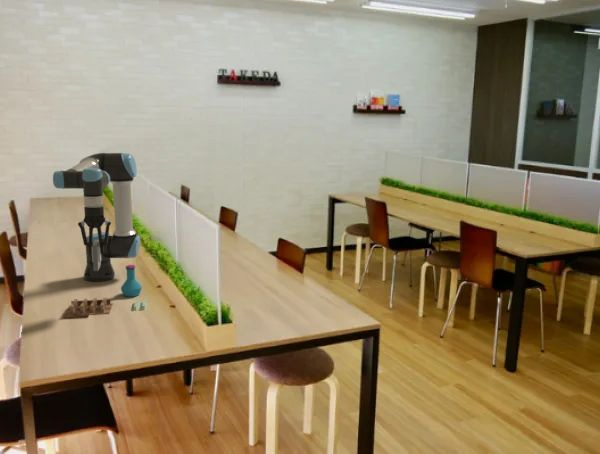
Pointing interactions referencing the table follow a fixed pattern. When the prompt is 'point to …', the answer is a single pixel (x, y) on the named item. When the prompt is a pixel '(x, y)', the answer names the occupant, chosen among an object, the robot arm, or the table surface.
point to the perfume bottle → (131, 283)
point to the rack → (88, 308)
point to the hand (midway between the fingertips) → (96, 260)
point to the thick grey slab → (96, 255)
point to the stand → (140, 305)
